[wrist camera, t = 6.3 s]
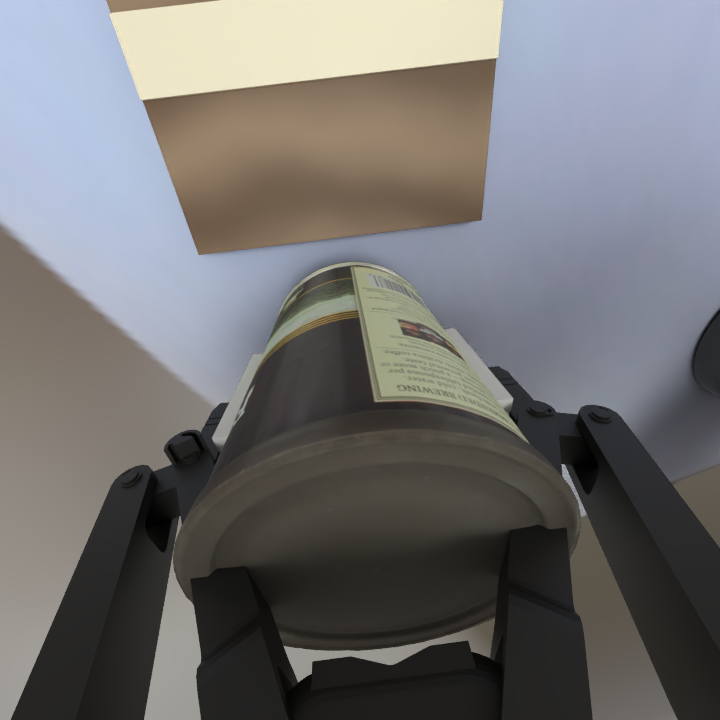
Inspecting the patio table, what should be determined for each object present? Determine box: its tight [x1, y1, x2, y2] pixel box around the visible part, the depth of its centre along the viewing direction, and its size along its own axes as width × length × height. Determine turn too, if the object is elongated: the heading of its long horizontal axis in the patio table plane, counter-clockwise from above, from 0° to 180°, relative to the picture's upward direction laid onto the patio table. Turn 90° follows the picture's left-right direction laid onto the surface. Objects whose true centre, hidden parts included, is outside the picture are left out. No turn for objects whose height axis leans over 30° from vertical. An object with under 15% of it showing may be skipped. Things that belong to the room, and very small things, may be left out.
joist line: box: [109, 0, 503, 101], centre depth 14 cm, size 3×18×1 cm, turn 96°
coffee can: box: [173, 262, 581, 651], centre depth 14 cm, size 10×10×14 cm
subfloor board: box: [106, 0, 496, 255], centre depth 16 cm, size 16×18×2 cm
